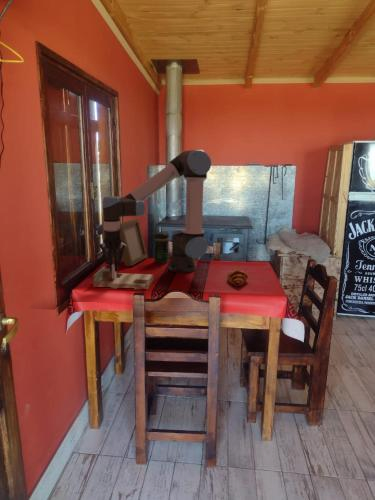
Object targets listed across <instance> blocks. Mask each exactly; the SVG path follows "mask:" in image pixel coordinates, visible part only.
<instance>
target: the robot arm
mask: <svg viewBox="0 0 375 500" xmlns="http://www.w3.org/2000/svg"><path fill="white" fill-rule="evenodd" d="M211 166H212V160H211V157H210V155H209V154H208V153H207V151H204V150H203V149H191V150H185V151H182V152H181V153H179V154H178V155H177V156H175V157H174V158H173V159H171V160H170V161H168V163H167V166H165V167H163V168H162V169H161V170H160V171H158V172H156V173H155V174H154V175H153V176H151V177H150V178H149V179H147V180H146V181H144V182H143V183H142V184H140V185H138V186H137V187H135V188H134V189H133V190H132V191H130V192H129V193H128V194H126V195H125V196H122V197H119V196H114V195H113V196H108V195H107V196H104V197H103V198H102V217H103V230H104V231H103V233H104V234H103V237H104V240H103V242H102V243H100V244H98V245H99V248H100V249H101V252H102V255H103V259H104V263H105V265H109V268H110V271H112V279H115V278H116V277H117V276H116V273H118V271H119V265H121V264H122V262H123V254H124V249H125V247H126V246H127V245H126V244H124V243H122V241H121V235H120V230H119V229H120V223H121V217H122V218H123V217H139V216H140V217H141V216H144V215H145V213H146V206H145V205H146V204H145V201H147V199H149V198H151V197H152V196H153V195H155V194H156V193H157V192H159V191H160V190H161V189H162V188H164V187H166V186H167V185H168V184H169V183H171V182H172V181H174V180H175V179H180V178H181V177H183V179H184V180H185V181H186V187H185V189H186V191H185V225H184V228H178V229H177V228H176V229H173V230H172V234H171V247H172V249H171V251H172V252H171V253H172V254H171V255H172V256H171V258H170V262H169V264H168V266H169V267H168V269H169V271H171V272H174V273H178V274H179V273H191V272H195V271H196V270H197V268H196V267H197V266H196V262H195V259H199V258H201V257H203V256H204V255H205V254H206V252H207V251H208V247H209V246H208V245H209V244H208V242H207V240H206V238H205V235H206V234H205V230H204V229H203V208H204V207H203V206H204V205H203V203H204V202H203V201H204V182H205V181H206V180H207V178H208V177H207V176H208V172H209V171H210V170H211V168H212V167H211ZM120 245H121V251H120V255H119V260H118V250H119V248H120ZM106 248H107V249H106Z"/></svg>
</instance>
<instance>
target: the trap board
mask: <svg viewBox="0 0 375 500" xmlns="http://www.w3.org/2000/svg"><path fill="white" fill-rule="evenodd" d="M105 268H107V267H106V266H105V265H104V266H102V267H101V268H100V269H99V270H98V271H96V272H95V274H93V275H92V279H93V284H92V285H93V287H94V286H98V287H111V288H110V289H117V288H134V289H133V290H142V289H147V290H148V289H149V288H150V286H151V284H152V282H153V280H154V274H153V273H152V274H148V273H147V274H146V273H123V272H121V273H120V272H119V273H118V272H116V276H117V277H116V278H115V279H114V280H113V281H102V271H103V270H104V269H105Z"/></svg>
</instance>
